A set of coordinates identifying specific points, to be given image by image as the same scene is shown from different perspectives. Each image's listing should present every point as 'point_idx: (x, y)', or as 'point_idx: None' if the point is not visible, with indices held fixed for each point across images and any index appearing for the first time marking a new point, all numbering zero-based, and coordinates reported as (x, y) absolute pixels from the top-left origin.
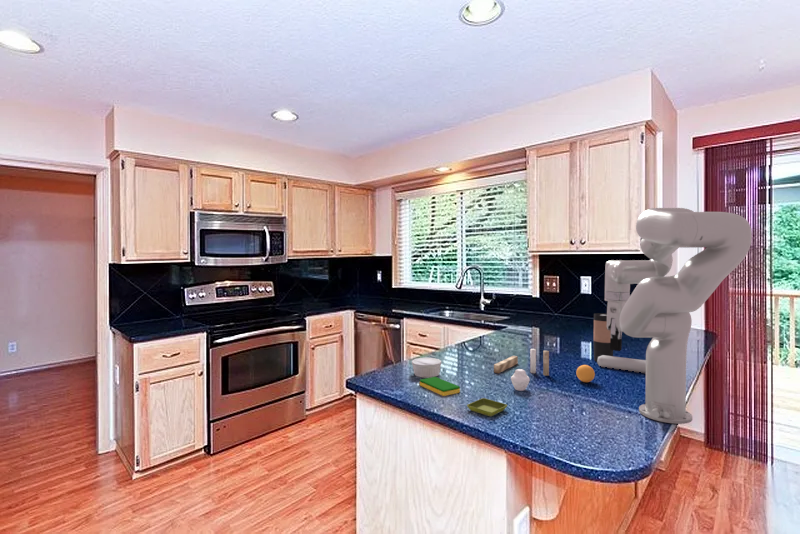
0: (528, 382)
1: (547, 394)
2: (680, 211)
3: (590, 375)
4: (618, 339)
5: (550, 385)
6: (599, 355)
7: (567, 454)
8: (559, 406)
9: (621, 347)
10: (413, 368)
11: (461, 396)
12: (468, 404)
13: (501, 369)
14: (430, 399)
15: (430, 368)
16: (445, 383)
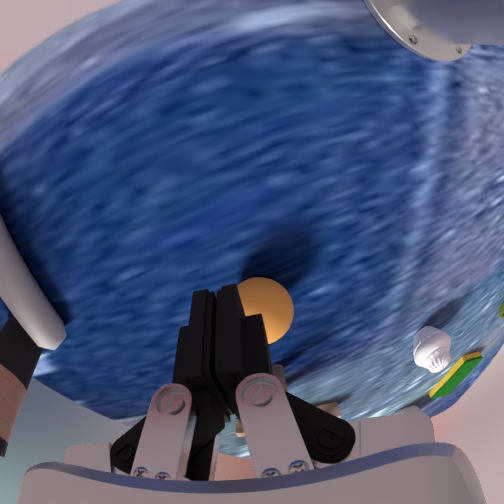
0: (436, 334)
1: (434, 287)
2: None
3: (279, 289)
4: (265, 379)
5: (364, 321)
6: (34, 350)
7: None
8: (489, 231)
9: (195, 304)
10: None
11: (477, 343)
12: None
13: (324, 409)
14: (491, 347)
15: None
16: (458, 376)
